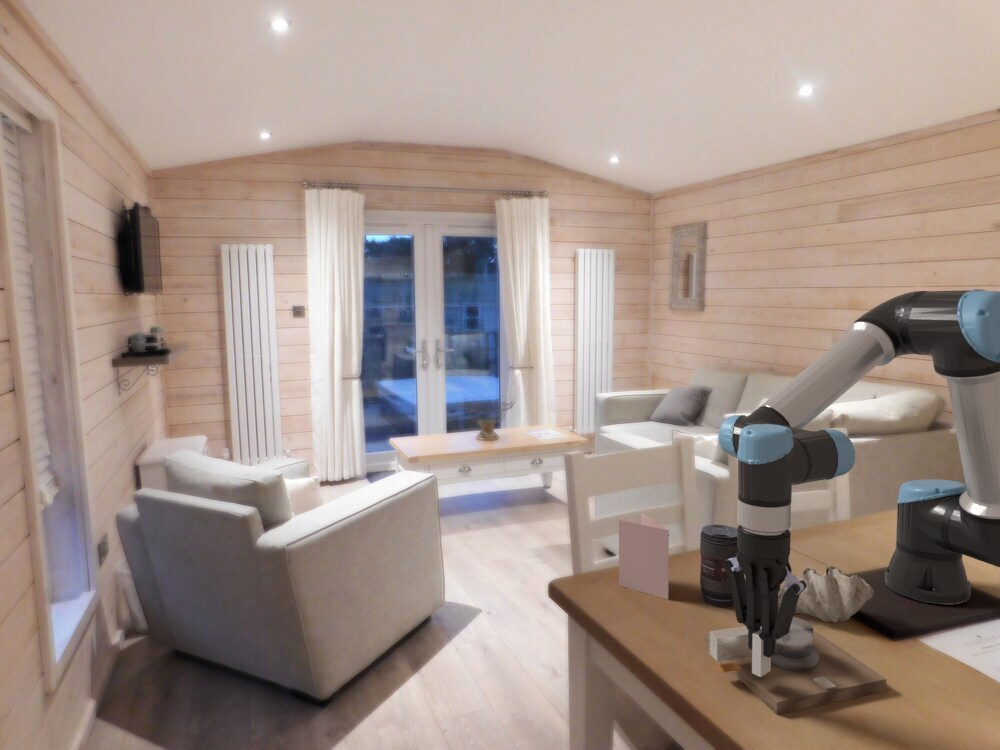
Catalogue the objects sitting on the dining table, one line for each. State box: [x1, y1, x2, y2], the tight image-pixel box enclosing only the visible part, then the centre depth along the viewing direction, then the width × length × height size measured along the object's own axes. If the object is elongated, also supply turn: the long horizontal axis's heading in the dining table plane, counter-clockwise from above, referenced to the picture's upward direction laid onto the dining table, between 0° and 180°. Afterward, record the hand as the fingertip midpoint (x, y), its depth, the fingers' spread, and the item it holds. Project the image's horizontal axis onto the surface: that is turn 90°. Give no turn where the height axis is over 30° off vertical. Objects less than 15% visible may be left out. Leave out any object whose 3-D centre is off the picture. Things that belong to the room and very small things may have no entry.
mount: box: [703, 628, 887, 715], centre depth 111 cm, size 23×20×4 cm
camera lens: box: [699, 524, 739, 608], centre depth 136 cm, size 8×8×15 cm
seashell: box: [778, 565, 875, 624], centre depth 128 cm, size 10×15×10 cm
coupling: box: [709, 616, 814, 662], centre depth 110 cm, size 18×7×4 cm, turn 101°
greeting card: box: [618, 512, 670, 600], centre depth 141 cm, size 11×7×15 cm, turn 17°
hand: (761, 671), depth 104 cm, fingers closed
